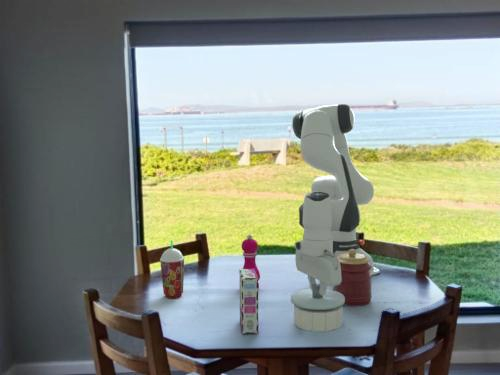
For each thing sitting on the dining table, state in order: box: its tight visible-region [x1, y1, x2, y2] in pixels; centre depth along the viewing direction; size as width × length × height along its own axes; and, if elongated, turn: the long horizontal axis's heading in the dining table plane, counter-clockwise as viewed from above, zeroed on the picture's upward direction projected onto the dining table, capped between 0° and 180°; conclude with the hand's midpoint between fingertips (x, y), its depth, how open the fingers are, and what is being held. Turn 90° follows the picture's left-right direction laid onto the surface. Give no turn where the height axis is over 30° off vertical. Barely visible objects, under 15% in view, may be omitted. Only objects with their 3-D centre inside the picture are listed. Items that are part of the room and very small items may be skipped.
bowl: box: [293, 304, 343, 332], centre depth 157 cm, size 14×14×6 cm
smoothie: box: [159, 240, 185, 300], centre depth 183 cm, size 8×8×20 cm
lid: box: [290, 283, 345, 310], centre depth 156 cm, size 16×16×5 cm
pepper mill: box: [241, 234, 261, 290], centre depth 190 cm, size 7×7×20 cm
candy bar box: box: [238, 268, 259, 335], centre depth 153 cm, size 11×5×16 cm, turn 5°
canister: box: [332, 249, 373, 307], centre depth 176 cm, size 13×13×18 cm
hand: (317, 292), depth 156 cm, fingers closed on lid, 3 cm apart
